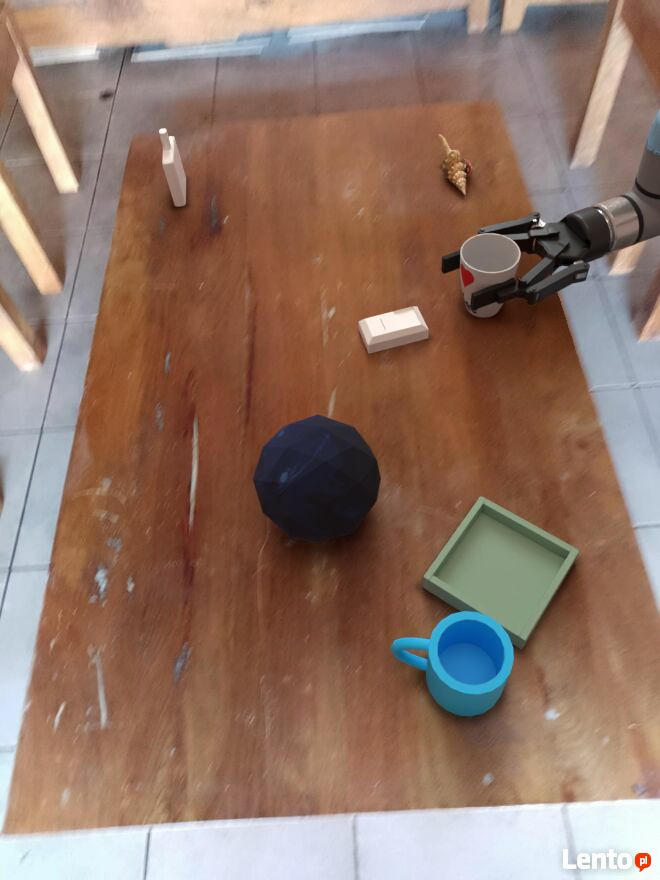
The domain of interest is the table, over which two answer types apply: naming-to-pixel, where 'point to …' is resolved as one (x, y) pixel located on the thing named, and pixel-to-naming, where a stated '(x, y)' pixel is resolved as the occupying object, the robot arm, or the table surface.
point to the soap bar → (393, 329)
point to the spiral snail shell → (456, 166)
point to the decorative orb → (317, 479)
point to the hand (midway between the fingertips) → (457, 283)
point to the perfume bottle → (173, 168)
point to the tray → (501, 569)
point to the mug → (462, 661)
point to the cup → (486, 267)
